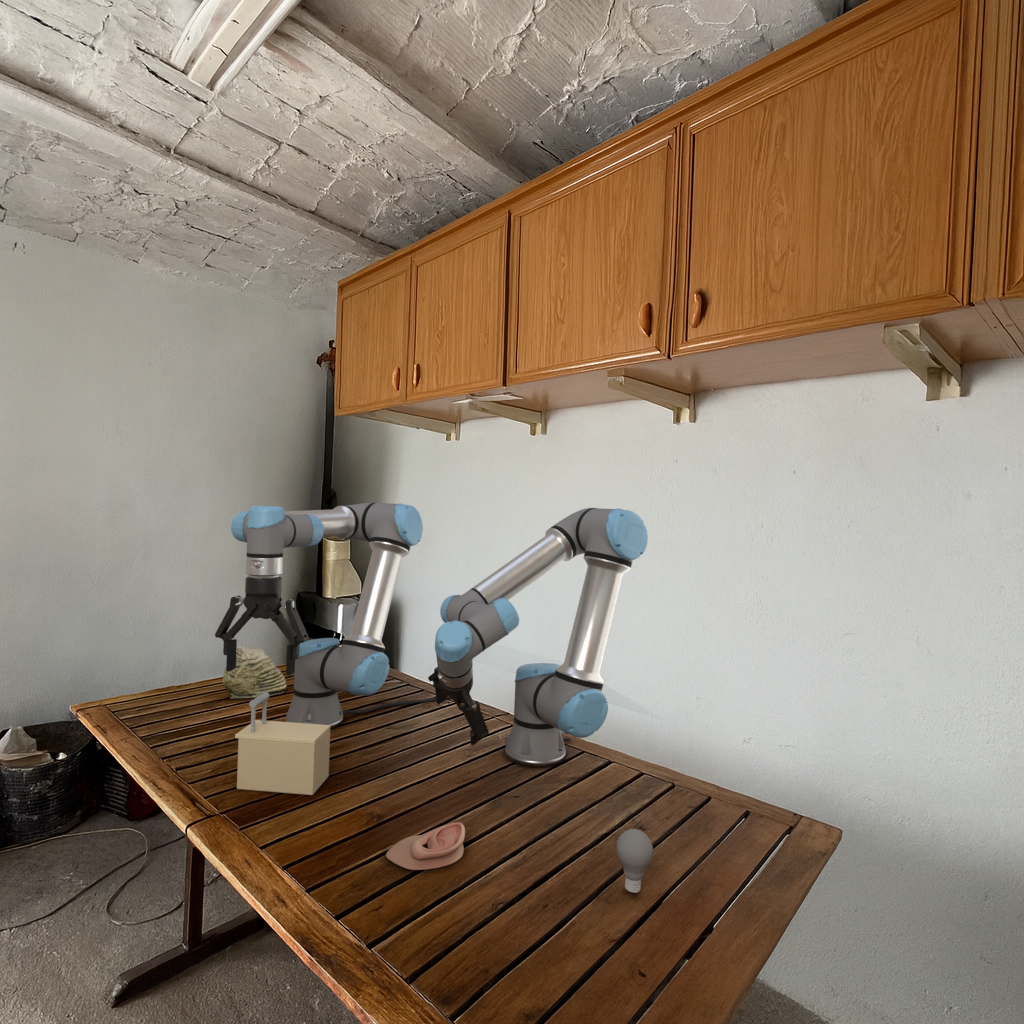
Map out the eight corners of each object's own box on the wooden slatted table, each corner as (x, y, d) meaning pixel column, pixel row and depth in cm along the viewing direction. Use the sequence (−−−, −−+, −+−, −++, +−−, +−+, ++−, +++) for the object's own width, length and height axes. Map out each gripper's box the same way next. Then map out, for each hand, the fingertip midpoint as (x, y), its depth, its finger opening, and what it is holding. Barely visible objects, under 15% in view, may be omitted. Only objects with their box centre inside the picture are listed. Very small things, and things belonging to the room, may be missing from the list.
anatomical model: (379, 842, 110) (403, 810, 121) (378, 864, 110) (403, 831, 121) (452, 854, 107) (471, 821, 118) (452, 877, 107) (470, 842, 118)
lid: (234, 738, 136) (236, 702, 135) (255, 723, 145) (256, 689, 145) (314, 744, 134) (315, 707, 134) (330, 728, 143) (331, 694, 143)
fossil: (218, 695, 195) (220, 647, 195) (278, 685, 208) (279, 640, 207) (228, 703, 189) (230, 653, 188) (289, 692, 201) (290, 645, 201)
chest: (236, 788, 136) (238, 738, 135) (257, 770, 145) (259, 723, 145) (312, 795, 134) (314, 744, 134) (328, 776, 144) (330, 728, 143)
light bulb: (610, 879, 108) (613, 822, 108) (644, 879, 109) (647, 822, 109) (619, 902, 102) (622, 840, 102) (655, 901, 103) (658, 840, 103)
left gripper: (200, 574, 137) (196, 672, 137) (312, 581, 135) (308, 680, 135) (219, 571, 144) (215, 663, 144) (325, 577, 142) (321, 671, 142)
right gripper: (409, 645, 143) (416, 693, 158) (477, 726, 130) (478, 769, 145) (436, 628, 147) (440, 676, 162) (505, 704, 133) (503, 749, 148)
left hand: (260, 672), depth 140 cm, fingers open, 13 cm apart
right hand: (458, 720), depth 153 cm, fingers open, 13 cm apart
